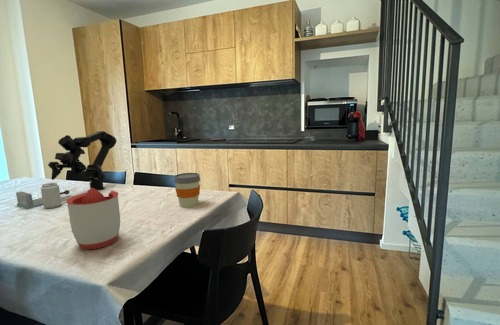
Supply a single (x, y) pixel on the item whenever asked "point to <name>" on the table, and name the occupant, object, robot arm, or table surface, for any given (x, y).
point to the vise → (30, 200)
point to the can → (51, 195)
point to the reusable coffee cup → (187, 189)
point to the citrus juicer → (94, 218)
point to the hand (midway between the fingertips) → (60, 179)
